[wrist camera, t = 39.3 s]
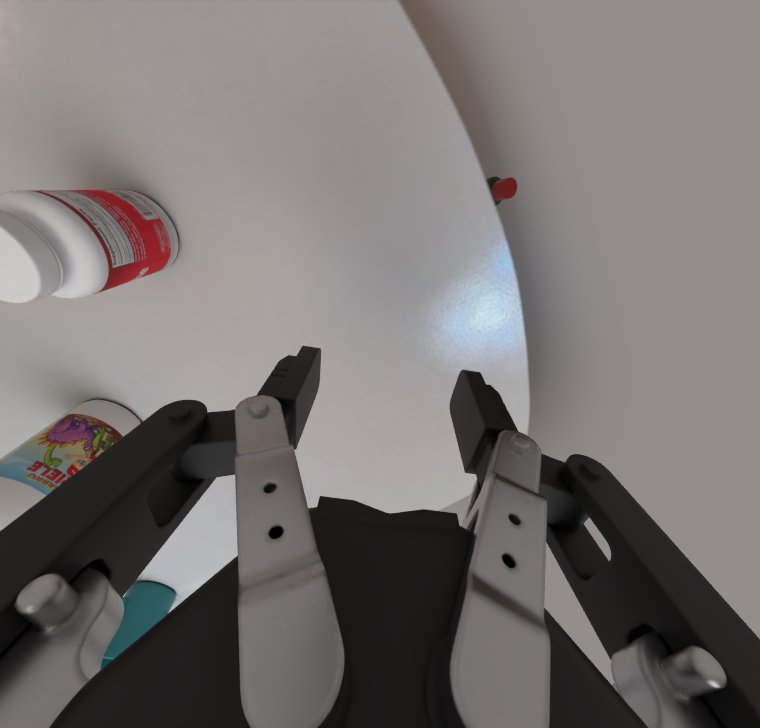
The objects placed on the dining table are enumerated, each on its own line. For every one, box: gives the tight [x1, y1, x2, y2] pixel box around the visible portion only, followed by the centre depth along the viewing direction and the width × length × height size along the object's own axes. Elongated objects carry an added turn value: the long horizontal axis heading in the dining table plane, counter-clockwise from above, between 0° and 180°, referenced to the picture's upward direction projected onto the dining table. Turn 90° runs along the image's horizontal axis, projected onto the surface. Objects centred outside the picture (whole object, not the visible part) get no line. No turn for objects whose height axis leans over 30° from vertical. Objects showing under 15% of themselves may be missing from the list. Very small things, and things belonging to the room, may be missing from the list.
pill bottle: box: [0, 190, 179, 303], centre depth 20 cm, size 6×6×11 cm
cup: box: [100, 582, 176, 670], centre depth 56 cm, size 9×12×11 cm
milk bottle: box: [0, 400, 141, 531], centre depth 28 cm, size 8×8×20 cm
